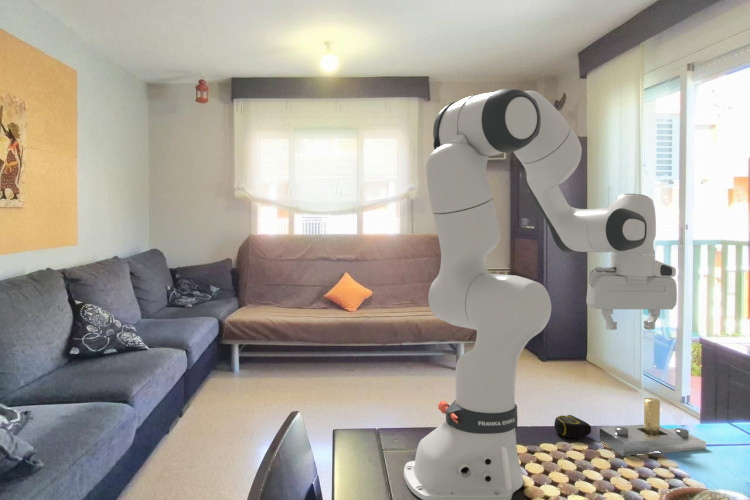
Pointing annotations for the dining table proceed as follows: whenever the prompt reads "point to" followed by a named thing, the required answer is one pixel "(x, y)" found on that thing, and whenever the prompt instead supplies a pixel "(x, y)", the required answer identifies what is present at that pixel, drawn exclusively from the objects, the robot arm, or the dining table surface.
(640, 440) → the gray slab
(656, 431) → the pin
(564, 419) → the tape measure
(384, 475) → the dining table surface
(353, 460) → the dining table surface
